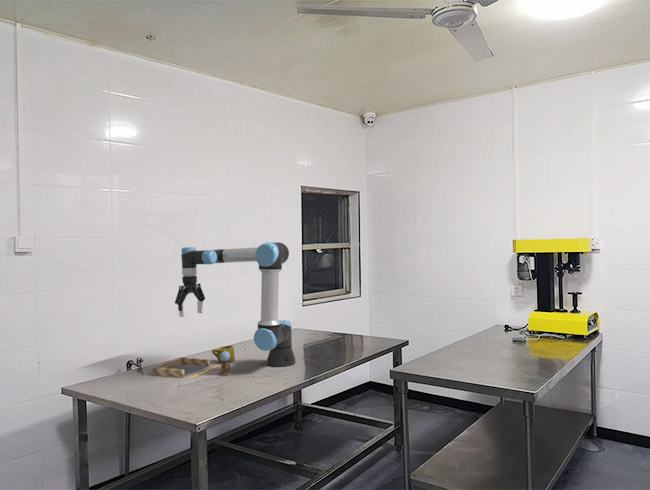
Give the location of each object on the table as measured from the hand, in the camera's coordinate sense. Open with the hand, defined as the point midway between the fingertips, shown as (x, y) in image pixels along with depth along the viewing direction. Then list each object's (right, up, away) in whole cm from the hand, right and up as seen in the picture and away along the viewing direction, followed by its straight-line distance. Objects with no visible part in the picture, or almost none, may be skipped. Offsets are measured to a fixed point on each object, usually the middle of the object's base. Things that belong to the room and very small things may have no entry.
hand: (191, 315), depth 266 cm
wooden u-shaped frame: (-1, -27, -11) cm, 29 cm away
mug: (+17, -27, +4) cm, 32 cm away
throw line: (+11, -27, -16) cm, 33 cm away
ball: (+23, -18, -21) cm, 35 cm away
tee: (+23, -26, -21) cm, 41 cm away
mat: (-1, -27, -11) cm, 29 cm away
